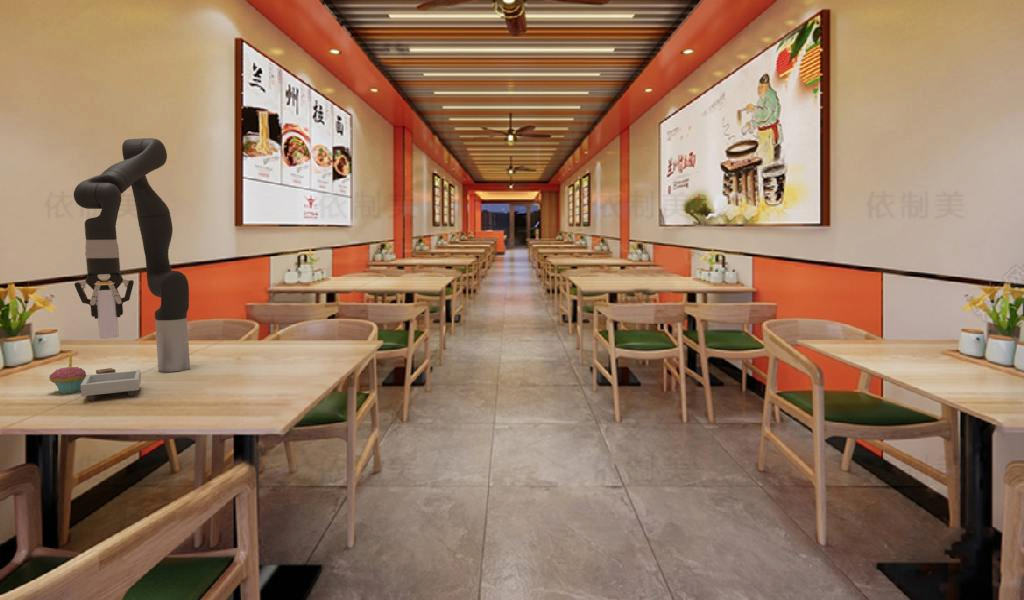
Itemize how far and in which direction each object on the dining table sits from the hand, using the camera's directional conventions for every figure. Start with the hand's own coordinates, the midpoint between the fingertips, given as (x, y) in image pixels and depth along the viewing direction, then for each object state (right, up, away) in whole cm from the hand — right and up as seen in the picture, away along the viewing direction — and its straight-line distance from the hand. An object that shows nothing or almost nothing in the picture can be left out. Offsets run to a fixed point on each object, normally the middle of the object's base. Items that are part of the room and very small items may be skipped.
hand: (107, 317), depth 163 cm
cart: (0, -22, +2) cm, 22 cm away
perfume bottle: (0, -7, +1) cm, 7 cm away
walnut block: (-11, -21, +16) cm, 28 cm away
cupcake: (-15, -22, +6) cm, 27 cm away
